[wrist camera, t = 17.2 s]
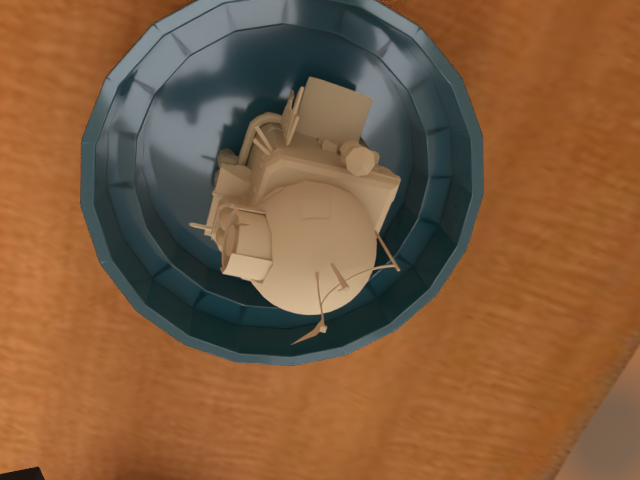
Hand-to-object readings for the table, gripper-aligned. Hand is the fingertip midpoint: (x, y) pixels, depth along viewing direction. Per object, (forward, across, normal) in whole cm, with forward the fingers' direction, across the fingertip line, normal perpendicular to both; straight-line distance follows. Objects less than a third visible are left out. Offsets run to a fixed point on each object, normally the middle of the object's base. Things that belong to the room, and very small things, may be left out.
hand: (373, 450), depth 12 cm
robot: (+21, -1, 0) cm, 21 cm away
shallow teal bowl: (+22, 0, 0) cm, 22 cm away
